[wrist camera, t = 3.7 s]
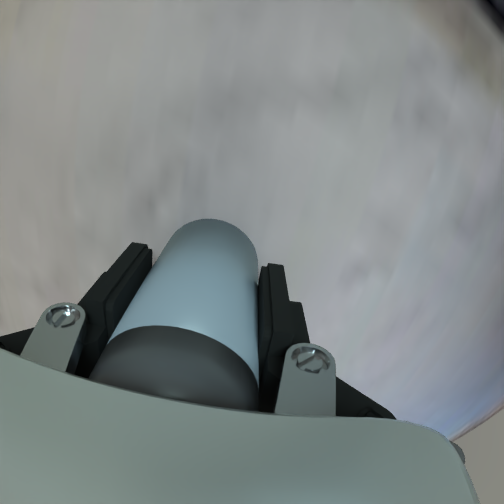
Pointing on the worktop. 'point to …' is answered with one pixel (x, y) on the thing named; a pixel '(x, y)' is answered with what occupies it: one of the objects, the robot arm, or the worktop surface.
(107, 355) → the blue grey capped cylinder
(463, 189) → the worktop surface
